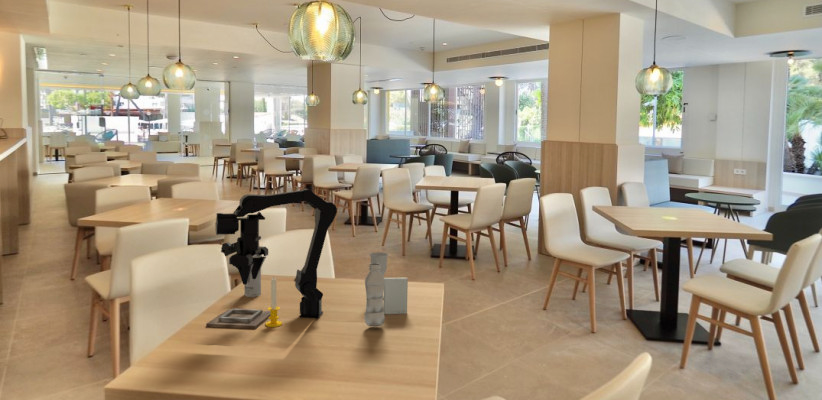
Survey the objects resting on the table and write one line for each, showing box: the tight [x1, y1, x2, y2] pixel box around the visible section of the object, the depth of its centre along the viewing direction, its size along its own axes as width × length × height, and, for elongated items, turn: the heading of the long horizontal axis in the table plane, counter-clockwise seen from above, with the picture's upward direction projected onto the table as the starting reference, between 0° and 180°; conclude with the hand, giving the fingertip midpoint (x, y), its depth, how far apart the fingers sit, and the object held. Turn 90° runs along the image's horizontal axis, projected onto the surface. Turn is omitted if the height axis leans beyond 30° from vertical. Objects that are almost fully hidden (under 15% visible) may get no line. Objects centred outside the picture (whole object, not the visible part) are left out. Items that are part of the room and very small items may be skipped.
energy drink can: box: [243, 268, 262, 298], centre depth 205 cm, size 6×6×15 cm
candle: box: [264, 277, 283, 328], centre depth 173 cm, size 5×5×16 cm
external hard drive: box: [383, 277, 409, 315], centre depth 188 cm, size 2×8×12 cm, turn 98°
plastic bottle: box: [364, 262, 386, 328], centre depth 173 cm, size 6×7×20 cm
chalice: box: [369, 252, 389, 301], centre depth 202 cm, size 7×7×18 cm
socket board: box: [205, 308, 271, 330], centre depth 177 cm, size 16×16×2 cm
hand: (249, 281), depth 175 cm, fingers open, 8 cm apart
